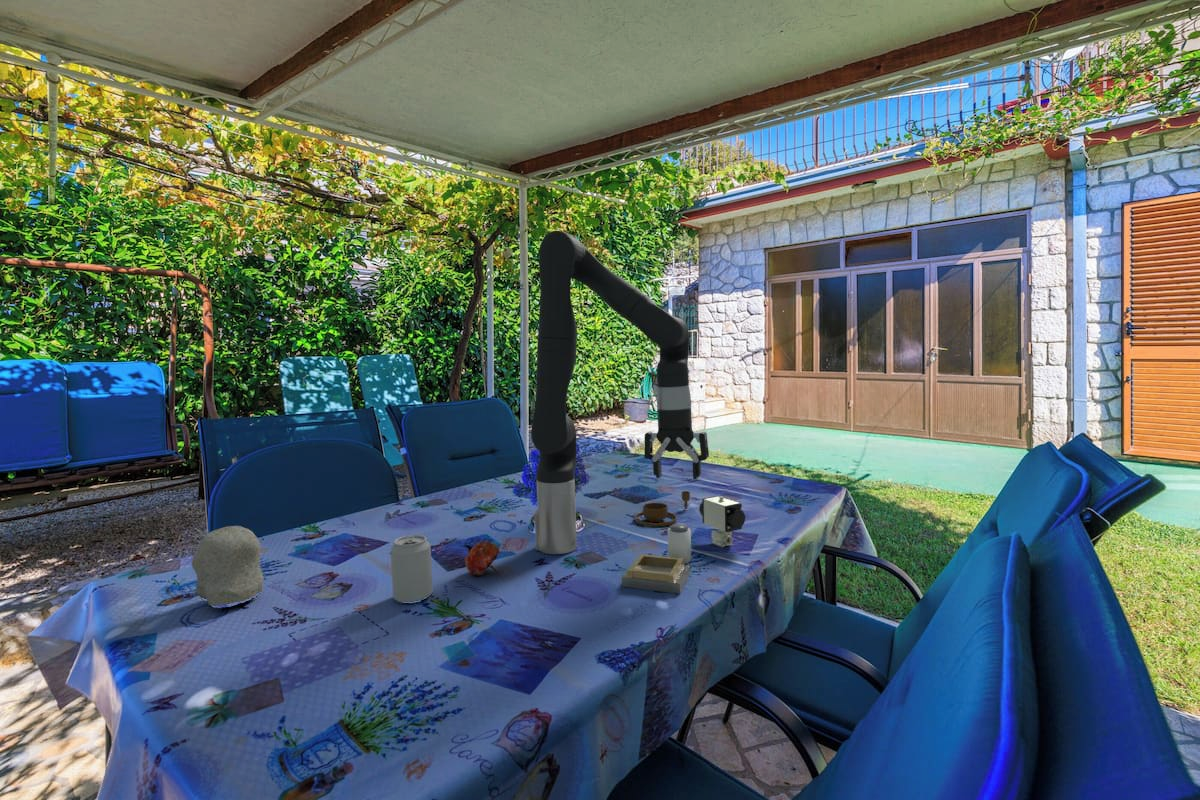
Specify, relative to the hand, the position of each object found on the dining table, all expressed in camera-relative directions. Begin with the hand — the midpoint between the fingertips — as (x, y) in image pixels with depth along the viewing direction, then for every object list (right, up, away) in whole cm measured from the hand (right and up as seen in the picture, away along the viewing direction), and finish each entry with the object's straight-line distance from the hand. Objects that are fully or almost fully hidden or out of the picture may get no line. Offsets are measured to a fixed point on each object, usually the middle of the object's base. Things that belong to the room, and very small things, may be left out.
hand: (677, 477), depth 128 cm
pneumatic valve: (+13, -18, +11) cm, 25 cm away
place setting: (+2, -17, +33) cm, 37 cm away
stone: (-91, -23, -16) cm, 95 cm away
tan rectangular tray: (-6, -20, -10) cm, 23 cm away
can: (-55, -22, -15) cm, 61 cm away
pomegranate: (-43, -21, -4) cm, 48 cm away
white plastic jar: (+1, -19, +1) cm, 19 cm away
